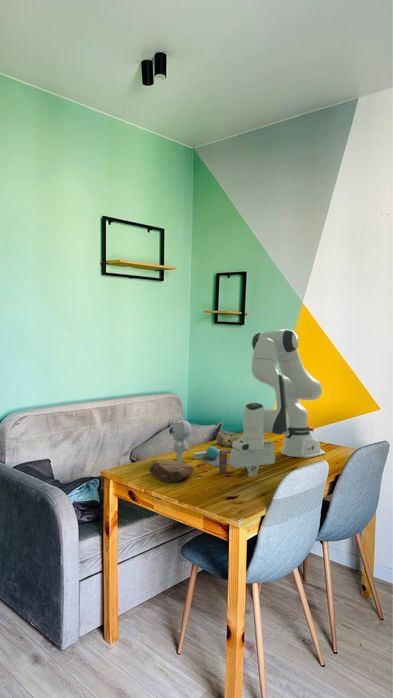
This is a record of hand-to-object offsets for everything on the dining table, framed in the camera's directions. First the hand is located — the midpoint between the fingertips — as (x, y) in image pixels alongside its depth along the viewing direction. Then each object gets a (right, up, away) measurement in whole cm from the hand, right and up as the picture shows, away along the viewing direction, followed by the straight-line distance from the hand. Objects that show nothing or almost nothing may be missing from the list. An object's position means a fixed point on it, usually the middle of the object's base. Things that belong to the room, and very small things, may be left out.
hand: (252, 476), depth 195 cm
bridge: (-6, -1, +12) cm, 14 cm away
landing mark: (-13, 0, +26) cm, 29 cm away
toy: (-31, 0, +27) cm, 41 cm away
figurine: (-3, 0, +59) cm, 59 cm away
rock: (-34, -1, +2) cm, 34 cm away
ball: (-16, +3, +31) cm, 35 cm away
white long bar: (-17, 0, +35) cm, 39 cm away
